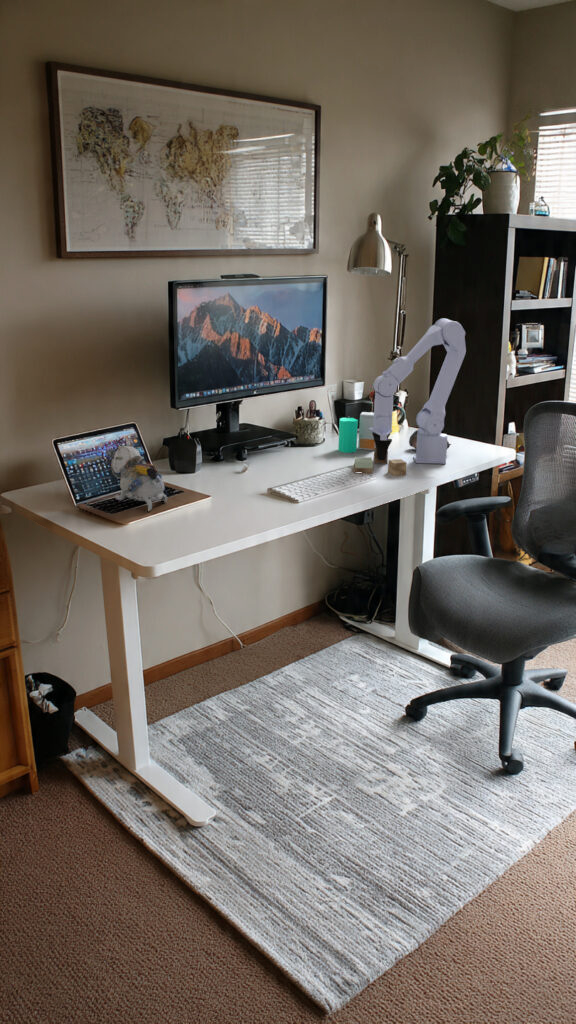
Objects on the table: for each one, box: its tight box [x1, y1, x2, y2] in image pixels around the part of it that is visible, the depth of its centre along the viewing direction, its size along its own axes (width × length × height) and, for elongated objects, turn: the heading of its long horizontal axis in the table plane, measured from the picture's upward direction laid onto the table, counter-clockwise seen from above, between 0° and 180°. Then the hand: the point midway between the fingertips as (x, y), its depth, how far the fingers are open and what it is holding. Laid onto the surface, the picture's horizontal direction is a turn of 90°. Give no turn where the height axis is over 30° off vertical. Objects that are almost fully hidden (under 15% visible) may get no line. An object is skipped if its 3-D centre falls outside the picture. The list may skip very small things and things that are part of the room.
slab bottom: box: [353, 463, 374, 475], centre depth 253 cm, size 6×6×2 cm
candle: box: [337, 417, 359, 454], centre depth 274 cm, size 6×6×12 cm
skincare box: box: [357, 411, 376, 451], centre depth 277 cm, size 6×4×12 cm
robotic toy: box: [107, 445, 168, 511], centre depth 218 cm, size 13×17×15 cm
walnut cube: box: [373, 448, 389, 465], centre depth 263 cm, size 4×4×4 cm
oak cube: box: [387, 458, 408, 477], centre depth 251 cm, size 4×4×4 cm
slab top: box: [353, 456, 374, 469], centre depth 253 cm, size 5×5×2 cm
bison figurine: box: [408, 429, 452, 450], centre depth 276 cm, size 12×7×10 cm
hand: (380, 457), depth 263 cm, fingers open, 6 cm apart
